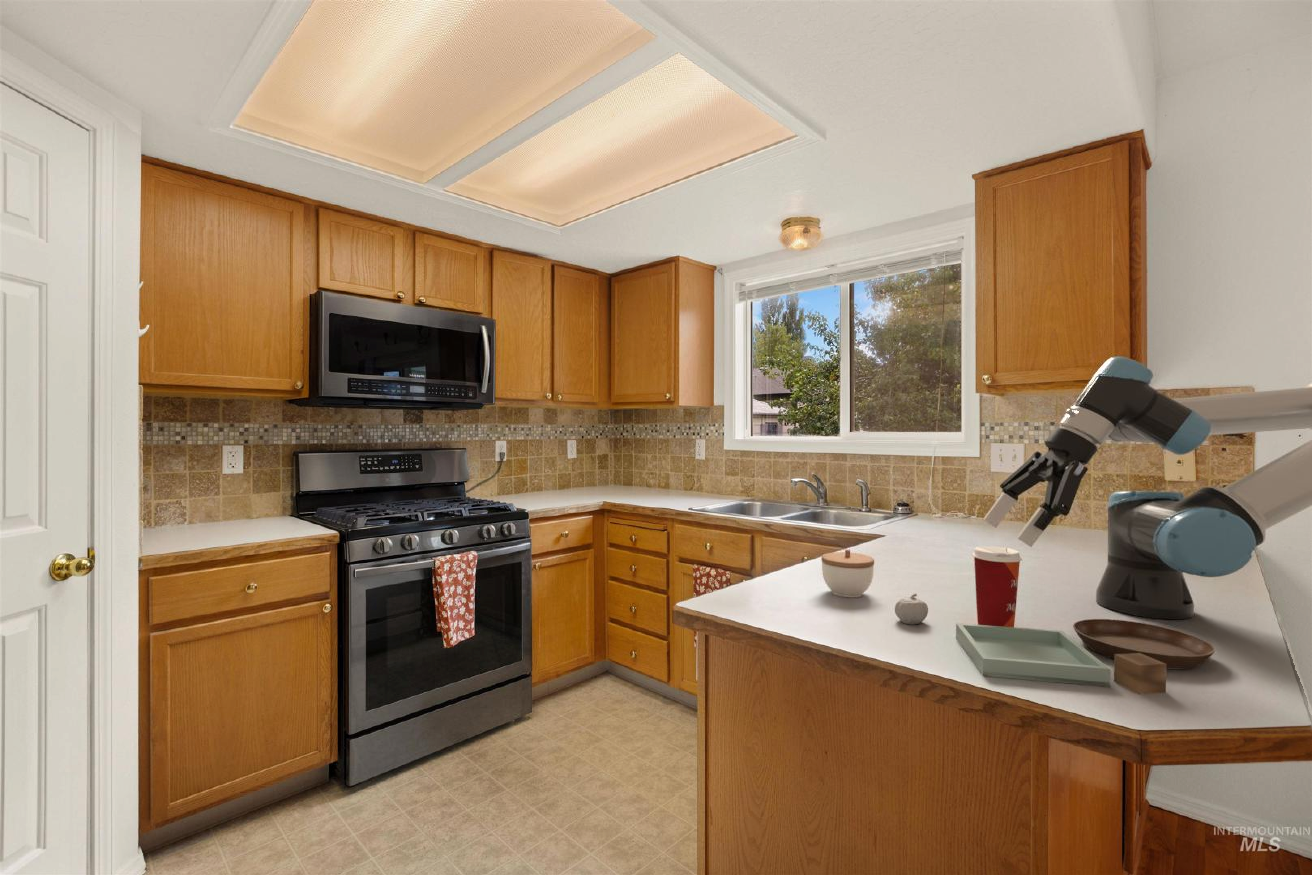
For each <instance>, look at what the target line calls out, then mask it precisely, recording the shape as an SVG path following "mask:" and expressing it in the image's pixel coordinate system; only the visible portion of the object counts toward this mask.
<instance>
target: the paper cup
mask: <svg viewBox="0 0 1312 875" xmlns="http://www.w3.org/2000/svg"><path fill="white" fill-rule="evenodd" d="M971 556H972V557H974V577H975V578H974V580H975V601H976V602H975V603H976V618H977V619H976V620H977V625H988V626H1002V627H1015V621H1016V611H1017V609H1016V608H1017V600H1018V599H1017V598H1018V586H1019V577H1020V576H1019V573H1020V562H1021V561H1022V560H1023V559H1022V557H1020V556H1021V555H1020V552H1019V551H1018V550H1016V549H1013V548H1010V547H1009V548H1008V547H1004V546H1003V547H1002V546H993V545H990V546H989V545H987V546H986V545H985V546H984V545H981V546H976V547H975V548H974V552H973V553H972V554H971Z"/></svg>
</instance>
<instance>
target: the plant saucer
mask: <svg viewBox="0 0 1312 875" xmlns="http://www.w3.org/2000/svg"><path fill="white" fill-rule="evenodd" d="M1072 627H1073V630H1074V631H1075V633H1076V635H1077V636H1078V637H1079V638H1080V640H1081V641H1082V642H1083V643H1084V644H1085V645H1086V646H1087V647H1088V648H1089V649H1091V650H1092V651H1094V652H1096V653H1098V654H1099V655H1102V656H1105V657H1107V658H1111V659H1113V660H1114V654H1131V653H1141V654H1143V655H1146V656H1148V657H1151V658H1153V659H1155V660H1158V661H1160V662H1163V663H1165V664H1166V670H1189V669H1195V668H1196V667H1199V666H1200V665H1201V664H1203V663H1205V662H1206V661H1207V660H1208V659H1210V658H1211V657H1212V656H1213V654H1215V652H1216V648H1215V647H1214V645H1212V644H1211V643H1210V642H1208V641H1206V640H1204V639H1203V638H1200V637H1197V636H1195V635H1193V634H1190V633H1185V632H1182V631H1181V630H1175V629H1172V628H1168V627H1164V626H1159V625H1155V624H1150V623H1144V622H1139V621H1138V622H1137V621H1131V620H1124V619H1121V620H1120V619H1109V618H1092V619H1091V618H1090V619H1088V618H1087V619H1082V620H1078V621H1075V622H1074V623H1073V626H1072Z"/></svg>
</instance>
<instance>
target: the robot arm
mask: <svg viewBox="0 0 1312 875" xmlns="http://www.w3.org/2000/svg"><path fill="white" fill-rule="evenodd" d="M1153 378H1154V373H1153V371H1152V370H1151V369H1150V368H1148V366H1146V365H1145V364H1142V363H1141V362H1139V361H1137V360H1134V359H1131V358H1129V357H1124V356H1113V357H1110V358H1108V359H1107V360H1105V362H1104V363H1103V364H1101V366H1100V367H1099V368H1098V370H1097V371H1096V372H1095V374H1093V375H1092V376H1091V379H1090V380H1089V381H1088V382H1087V384H1086V386H1085V387H1084V389H1083V390H1082V392H1080V395H1078V397H1077V399H1076V400H1075V401H1074V402H1073V404H1072V405H1071V406H1070V408H1067V409H1066V410H1065V414H1064V416H1063V418H1062V419H1061V420H1060V421H1059V422H1058V425H1059V427H1056V428H1054V429H1053V430H1052V431H1051V433H1050V434H1049V436H1047V438H1046V439H1045V441H1044V446H1045V447H1046V448H1047V449H1048V451H1047V452H1045V453H1044V454H1043V453H1041V452H1040V451H1038V450H1037V451H1034V453H1032V455H1031V456H1030V457H1029V458H1028V460H1027V461H1025V462H1024V463H1023V464H1022V465H1021V466H1019V467H1018V468H1017V469H1016V470H1015V471H1014V472H1012V474H1011V475H1009V476H1008V477H1007V478H1006V479H1005V480H1004V481H1003V482H1001V483H1000V485H999V487H1000V489H1001V492H1002V493H1001V494H1000V496H999V497H998V498H997V499H996V501H995V502H994V503H993V505H992V506H991V508H990V509H989V510H988V511H987V513H986V514H985V515H984V516H983V518H982V520H983V521H985V522H986V523H987V524H989V525H991V526H993V527H994V528H997V527H998V526H999V525H1000V523H1002V520H1003V519H1004V518H1005V516H1007V514H1008V513H1009V511H1010V510H1011V509H1012V507H1013V506H1014V505H1015V503H1016V502H1017V501H1019V496H1020V495H1022V494H1023V493H1025V492H1027V491H1028V490H1029V489H1031V488H1033V487H1034V486H1036V485H1037V484H1039V483H1045V482H1047V486H1046V490H1045V495H1044V496H1045V497H1044V502H1043V503H1041V504H1039V507H1038V508H1037V509H1036V510H1035V512H1034V513H1033V514H1032V516H1031V517H1030V518H1029V519H1028V521H1027V522H1026V524H1025V525H1024V526H1023V528H1022V529H1021V530H1020V532H1018V534H1017V535H1016V537H1015V538H1016V539H1017V540H1018V541H1021V543H1024V544H1025V545H1027V546H1029V547H1030V548H1032V547H1033V546H1034V544H1035V543H1036V542H1037V541H1038V539H1039V538H1040V537H1041V536H1042V534H1043V533H1044V531H1045V530H1046V529H1047V528H1048V527H1049V525H1050V524H1051V523H1052V521H1053V520H1054V518H1055V517H1059V516H1060V515H1062V516H1064V517H1066V516H1068V515H1069V514H1070V512H1071V508H1072V505H1073V504H1074V501H1075V498H1076V495H1077V493H1078V490H1079V488H1080V485H1081V482H1082V479H1083V478H1084V476H1085V475H1086V473H1087V472H1088V469H1089V468H1088V467H1087V466H1085V465H1087V464H1088V463H1089V462H1090V461H1091V459H1092V458H1093V457H1094V456H1095V454H1096V453H1097V452H1098V447H1100V446H1102V445H1104V442H1105V441H1106V440H1107V439H1108V440H1111V441H1114V442H1135V443H1136V442H1137V443H1147V444H1148V443H1150V444H1151V443H1152V444H1156V445H1157V446H1159V447H1160V448H1162V450H1166V451H1168V452H1170V453H1172V454H1173V455H1178V456H1179V455H1180V456H1182V455H1187V454H1189V453H1191V452H1193V451H1195V450H1196V449H1197V448H1199V447H1200V446H1201V445H1202V444H1203V443H1204V442H1205V441H1206V440H1207V438H1208V437H1209V436H1217V435H1219V436H1220V435H1232V434H1233V435H1234V434H1245V433H1246V434H1247V433H1260V432H1276V431H1289V430H1290V431H1291V430H1292V431H1293V430H1305V429H1310V430H1312V382H1311V383H1308V384H1307V385H1306V386H1305V387H1297V388H1287V389H1286V388H1284V389H1274V390H1263V391H1261V390H1260V391H1251V392H1239V393H1226V394H1217V395H1203V396H1192V397H1182V398H1180V397H1179V398H1170V397H1168V396H1167V395H1166V394H1163V393H1162V392H1160V391H1158V390H1157V389H1155V388H1154V387H1152V386H1150V384H1151V381H1152V379H1153ZM1310 507H1312V439H1311V440H1309V441H1307V442H1305V443H1303V444H1302V445H1300V446H1298V447H1296V448H1294V449H1293V450H1291V451H1288V452H1287V453H1285V454H1283V455H1281V456H1280V457H1277V458H1276V459H1274V460H1271V461H1270V462H1268V463H1267V464H1265V465H1263V466H1261V467H1259V468H1257V469H1256V470H1254V471H1252V472H1249V473H1248V474H1247V475H1245V476H1243V477H1240V478H1239V479H1237V480H1235V481H1234V482H1232V483H1230V484H1228V485H1226V486H1224V487H1217V486H1203V487H1202V488H1200V489H1198V490H1197V491H1195V492H1193V493H1191V494H1189V495H1187V496H1186V497H1185V495H1184V494H1183V493H1182V492H1178V491H1165V490H1164V491H1163V490H1162V491H1160V490H1157V491H1154V490H1152V491H1151V490H1149V491H1148V490H1124V491H1123V490H1122V491H1114V492H1112V493H1111V495H1109V499H1108V505H1107V563H1106V567H1105V570H1104V572H1103V573H1102V576H1101V579H1100V581H1099V583H1098V586H1097V588H1096V592H1095V601H1096V603H1097V604H1098V605H1100V606H1101V607H1104V608H1107V609H1109V610H1112V611H1115V612H1120V613H1123V614H1128V615H1132V616H1138V617H1145V618H1151V619H1152V618H1153V619H1162V620H1187V619H1191V618H1193V617H1194V615H1195V604H1194V601H1193V600H1194V599H1193V597H1192V595H1191V592H1190V589H1189V587H1188V585H1187V582H1186V578H1185V576H1184V573H1185V574H1187V575H1191V576H1197V577H1204V578H1220V577H1225V576H1228V575H1231V574H1233V573H1236V572H1238V571H1239V570H1242V569H1243V568H1244V567H1245V566H1247V564H1248V563H1249V562H1250V561H1251V559H1252V558H1253V555H1252V553H1253V551H1255V550H1256V547H1257V546H1260V545H1262V544H1263V543H1264V542H1265V540H1266V530H1268V529H1269V528H1272V527H1273V526H1276V525H1277V524H1279V523H1281V522H1283V521H1284V520H1287V519H1289V518H1291V517H1293V516H1295V515H1297V514H1298V513H1301V512H1302V511H1304V510H1306V509H1308V508H1310Z"/></svg>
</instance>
